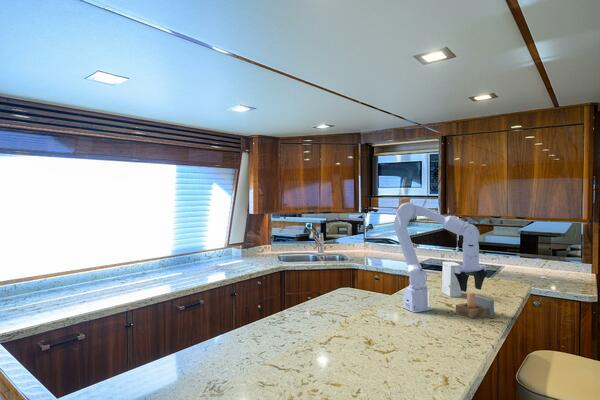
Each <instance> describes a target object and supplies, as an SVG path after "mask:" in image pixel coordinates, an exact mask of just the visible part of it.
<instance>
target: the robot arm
mask: <svg viewBox="0 0 600 400" xmlns="http://www.w3.org/2000/svg"><path fill="white" fill-rule="evenodd" d="M413 217H425V218H427V219H430V220H432V221H434V222H437V223H439V224H441V225H442V226H443V228H444V230H447V231H449V232H452V233H453V234H455V235H458V236H463V239H462V241H463V242H462V266H461V267H457V268H455V272H454V274H455V276H456V278H457V280H458V282H459V285H460V289H461V291H462V292H464V293H467V290H468V281H469V278H470V274H467V273H471V272H472V275H473V280H474V288H475V289H477V290H482V287H483V283H484V280H485V278H486V276H487V275H488V271H487V265H486V264H485V265H484V264H479V263H480V245H479V237H480V231H479V228H478V227H476V226H475V225H474V224H472V223H469V221H467V220H466V221H465V220H461V219H459V218H458V216H456V215H447V216H444V215H442V214H440V213H438V212H435V210H432V209H430V208H428V207H426V206H423V205H420V204H417V203H415V204H414V203H413V202H409V201H408V202H403V203H402V204H400V205H399V207H398V208H397V210H396V212H395V217H394V221H393V228H394V231H395V234H396V238H397V241H398V243H399V245H400V248H401V249H400V250H401V251H402V254H403V257H404V260H405V263H406V265H407V271H408V275H409V280H408V281H409V285H408V287H406V288H405V289H404V290H403V291H402V306H401V307H402V308H403V309H405V310H407V311H410V312H412V313H419V312H426V311H431V310H433V308H432V307H430V306H428V305H429V304H428V303H429V302H428V301H429V300H428V299H429V297H428V291H429V289H428V285H427V284H426V282H427V278H428V276H427V273H426V271H425V270H424V269H423V268H422V265H421V263H420V261H419V259H418V256H417V254H416V251H415V247H414V245H413V242H412V239H411V237H410V236H411V235H410V233H409V231H408V228H407V226H408V224H409V221H410V220H411V219H412V218H413Z"/></svg>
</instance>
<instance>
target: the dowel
mask: <svg viewBox="0 0 600 400" xmlns="http://www.w3.org/2000/svg"><path fill="white" fill-rule="evenodd" d="M476 295H477V294H476V293H474V292H466V303H467V307H468V308H471V309H473V308H476Z"/></svg>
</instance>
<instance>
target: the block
mask: <svg viewBox="0 0 600 400" xmlns="http://www.w3.org/2000/svg"><path fill="white" fill-rule="evenodd" d="M455 313H457V314H458V315H462V316H464V317H467V318H470V319H477V318H482V317H489V316H488V308H486V307H483V306H480V305H477V304H476V308H473V309H471V308H468V307H467V302H466V303H465V302H464V303H459V304H455Z"/></svg>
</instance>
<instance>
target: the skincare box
mask: <svg viewBox="0 0 600 400" xmlns="http://www.w3.org/2000/svg"><path fill="white" fill-rule="evenodd" d="M461 266H463V264H462V265H461V264H459V263H458V262H455V261H442V272H441V274H442V275H441V277H442V278H441V293H443V294H445V295H447V296H448V297H450V298H453V297H454V298H457V297H458V298H459V297H462V293H463V291H461V289H460V285H459V282H458V280H457V278H456V276H455V274H454V272H455V268H457V267H461Z"/></svg>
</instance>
